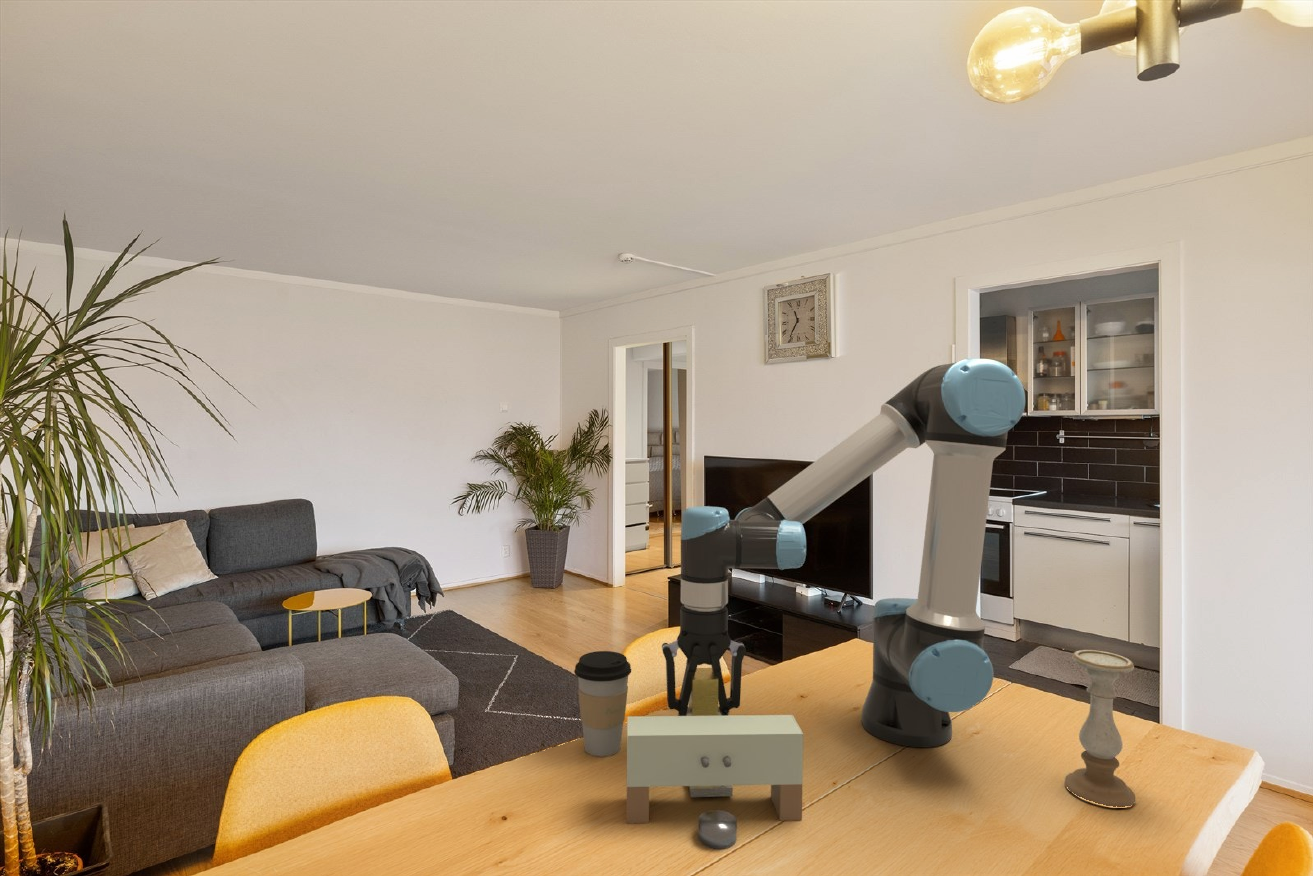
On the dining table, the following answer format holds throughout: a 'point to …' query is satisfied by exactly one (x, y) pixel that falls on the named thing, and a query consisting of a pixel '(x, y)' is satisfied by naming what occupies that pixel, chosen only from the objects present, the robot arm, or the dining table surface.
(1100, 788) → the candle holder
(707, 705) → the blade tool
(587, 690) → the coffee cup
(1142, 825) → the dining table surface
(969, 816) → the dining table surface
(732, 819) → the dark grey metallic disc
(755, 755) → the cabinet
